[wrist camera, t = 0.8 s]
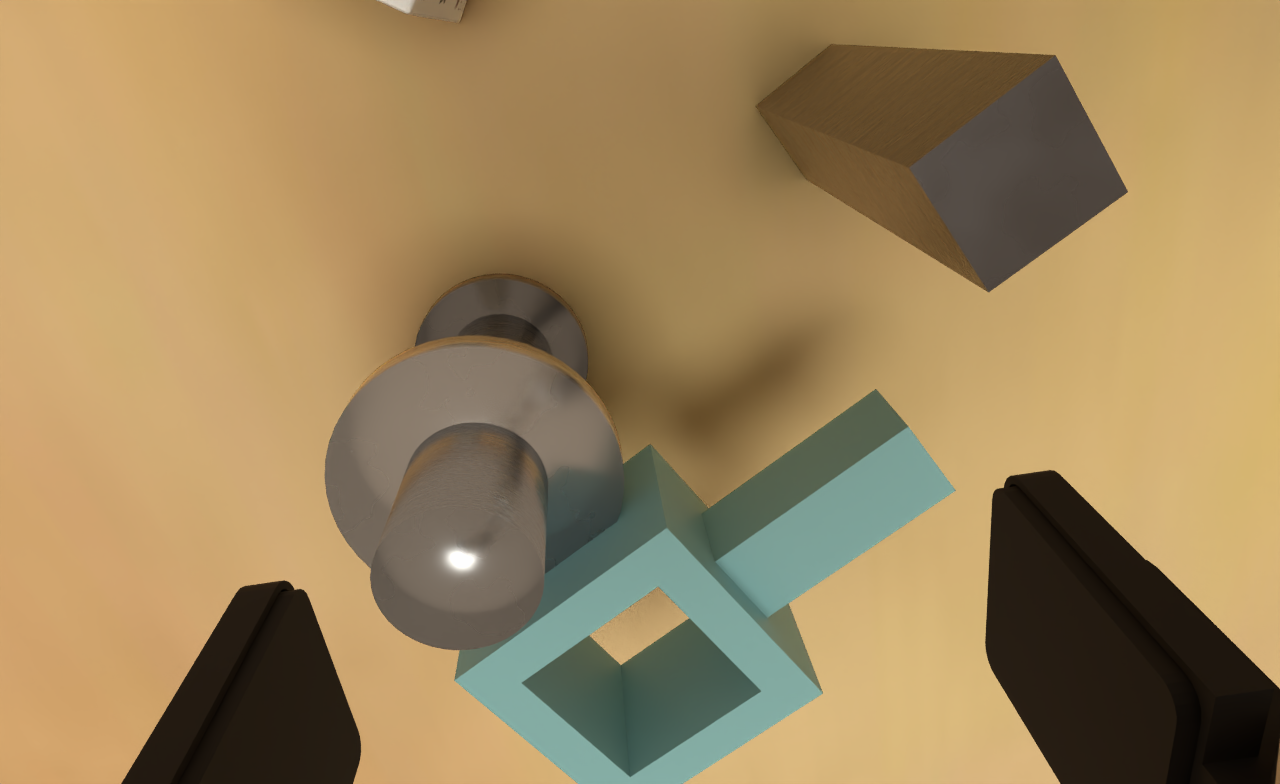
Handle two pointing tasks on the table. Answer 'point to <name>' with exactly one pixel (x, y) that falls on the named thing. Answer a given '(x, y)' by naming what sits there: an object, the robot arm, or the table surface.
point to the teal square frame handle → (700, 604)
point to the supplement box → (430, 8)
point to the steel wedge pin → (949, 149)
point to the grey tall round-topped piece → (475, 463)
